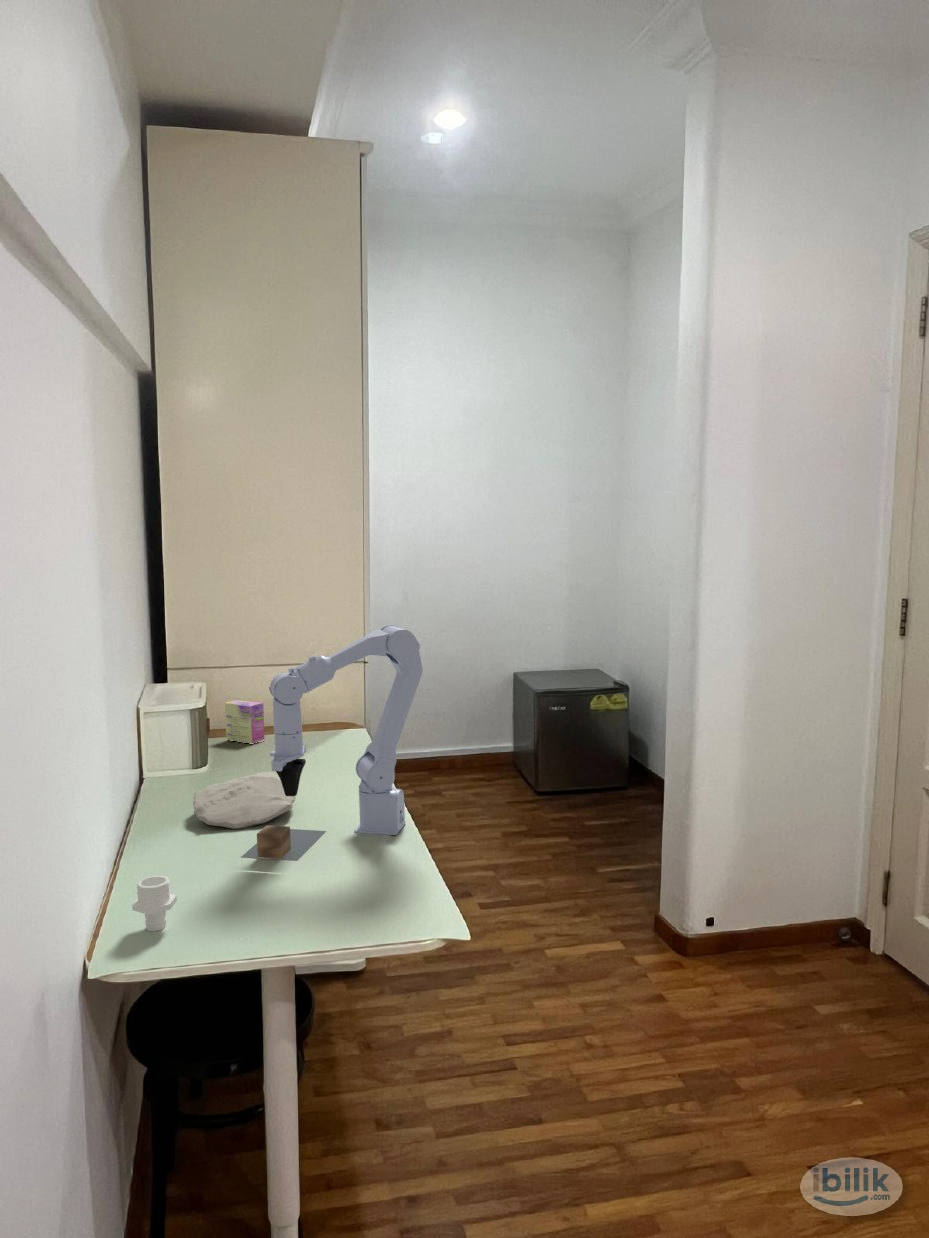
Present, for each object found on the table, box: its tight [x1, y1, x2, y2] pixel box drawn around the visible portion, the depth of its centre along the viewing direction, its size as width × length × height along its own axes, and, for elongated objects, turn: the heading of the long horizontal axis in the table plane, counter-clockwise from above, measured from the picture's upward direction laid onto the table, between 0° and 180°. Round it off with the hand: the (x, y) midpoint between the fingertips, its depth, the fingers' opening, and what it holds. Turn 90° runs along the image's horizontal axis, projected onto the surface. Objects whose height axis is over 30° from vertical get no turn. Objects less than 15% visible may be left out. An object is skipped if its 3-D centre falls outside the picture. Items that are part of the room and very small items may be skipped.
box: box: [224, 699, 265, 744], centre depth 281 cm, size 10×6×12 cm, turn 60°
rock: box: [192, 771, 297, 830], centre depth 218 cm, size 8×23×30 cm
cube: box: [256, 824, 291, 861], centre depth 188 cm, size 5×5×5 cm
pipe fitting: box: [131, 875, 178, 932], centre depth 157 cm, size 6×7×8 cm
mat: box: [240, 828, 327, 862], centre depth 194 cm, size 12×17×1 cm
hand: (291, 795), depth 196 cm, fingers closed
